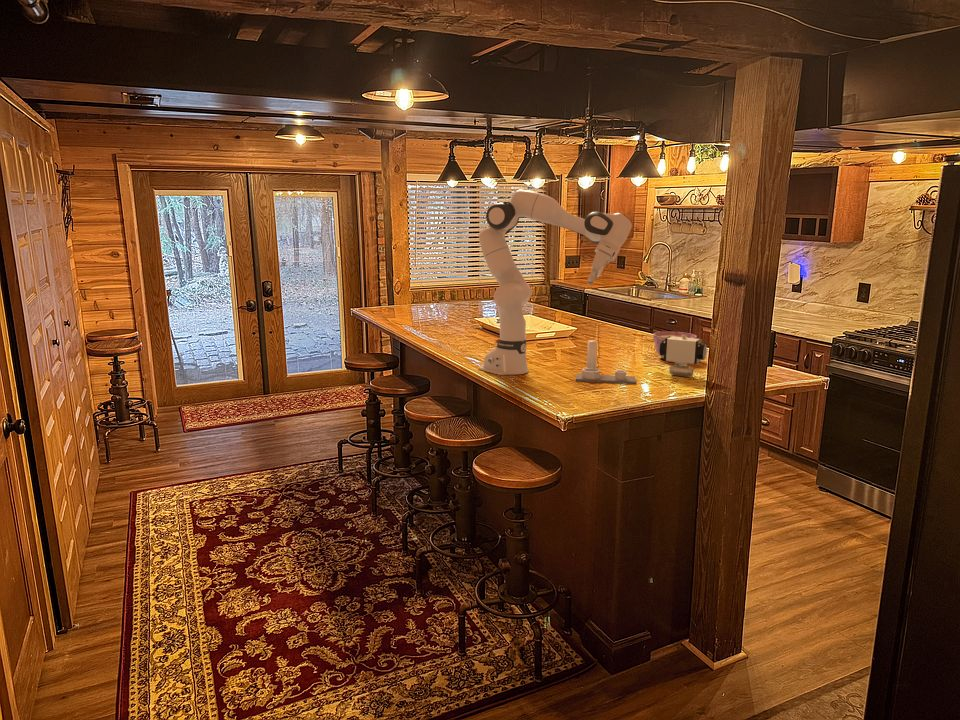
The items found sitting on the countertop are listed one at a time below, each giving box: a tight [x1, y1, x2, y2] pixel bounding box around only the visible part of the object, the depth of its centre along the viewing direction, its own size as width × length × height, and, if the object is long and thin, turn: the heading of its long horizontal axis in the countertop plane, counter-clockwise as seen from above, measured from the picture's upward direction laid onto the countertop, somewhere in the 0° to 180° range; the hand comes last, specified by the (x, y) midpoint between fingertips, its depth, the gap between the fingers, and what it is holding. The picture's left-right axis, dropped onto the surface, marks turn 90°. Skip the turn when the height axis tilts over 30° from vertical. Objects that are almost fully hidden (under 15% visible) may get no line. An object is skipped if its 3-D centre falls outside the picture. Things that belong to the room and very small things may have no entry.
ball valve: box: [659, 335, 708, 378], centre depth 280 cm, size 18×8×18 cm, turn 59°
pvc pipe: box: [586, 339, 598, 369], centre depth 285 cm, size 4×4×14 cm
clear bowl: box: [652, 331, 698, 358], centre depth 314 cm, size 20×20×12 cm
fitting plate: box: [575, 367, 637, 385], centre depth 273 cm, size 24×9×4 cm, turn 79°
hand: (589, 282), depth 266 cm, fingers open, 8 cm apart
